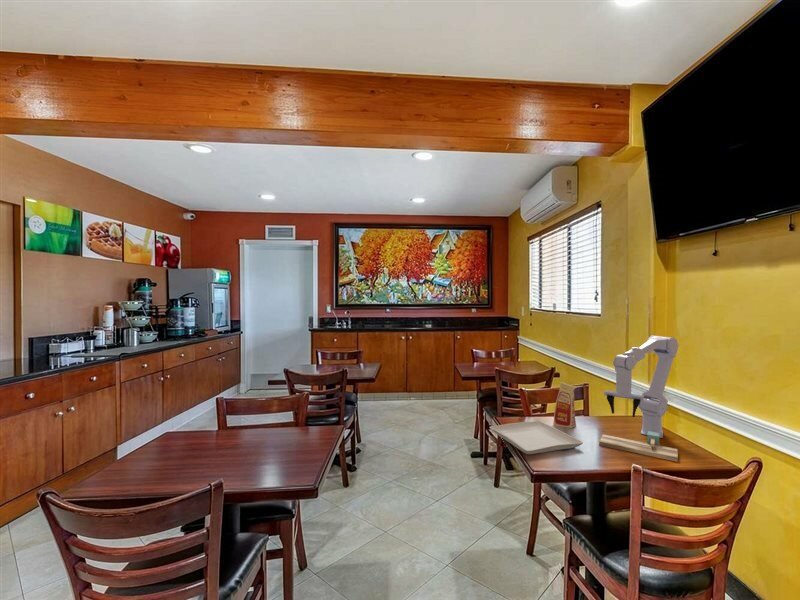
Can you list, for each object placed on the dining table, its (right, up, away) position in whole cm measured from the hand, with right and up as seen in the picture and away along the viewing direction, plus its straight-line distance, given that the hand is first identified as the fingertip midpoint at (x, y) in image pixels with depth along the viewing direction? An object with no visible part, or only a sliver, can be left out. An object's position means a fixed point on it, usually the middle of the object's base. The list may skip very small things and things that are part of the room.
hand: (623, 414), depth 163 cm
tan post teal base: (+6, -11, -10) cm, 16 cm away
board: (0, -11, -11) cm, 15 cm away
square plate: (-40, -11, -3) cm, 41 cm away
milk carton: (-17, -10, +18) cm, 27 cm away
